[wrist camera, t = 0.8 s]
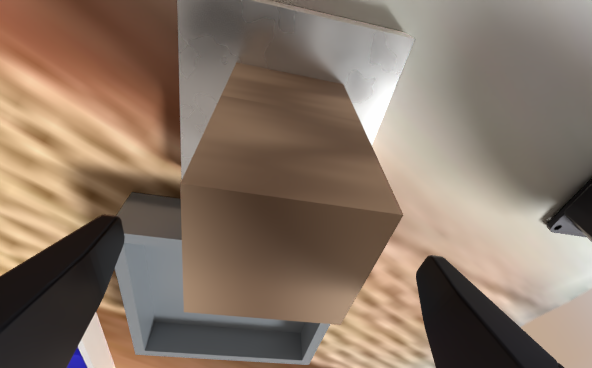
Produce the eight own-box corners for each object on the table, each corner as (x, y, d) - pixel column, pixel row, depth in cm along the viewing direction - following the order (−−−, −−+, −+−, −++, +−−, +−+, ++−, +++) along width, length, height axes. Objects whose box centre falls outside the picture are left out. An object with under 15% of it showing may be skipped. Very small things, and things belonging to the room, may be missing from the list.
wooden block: (343, 84, 14) (403, 215, 7) (316, 172, 17) (338, 327, 10) (236, 62, 13) (180, 183, 6) (228, 159, 16) (183, 315, 9)
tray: (353, 221, 22) (363, 261, 19) (306, 327, 31) (308, 364, 28) (131, 192, 20) (105, 231, 17) (150, 315, 28) (135, 354, 26)
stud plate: (404, 32, 14) (449, 60, 10) (342, 193, 20) (356, 250, 16) (187, -20, 13) (143, -10, 9) (188, 170, 19) (162, 227, 15)
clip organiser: (93, 304, 27) (78, 331, 25) (119, 380, 37) (110, 404, 35) (-23, 294, 26) (-49, 323, 24) (37, 376, 36) (23, 401, 34)
